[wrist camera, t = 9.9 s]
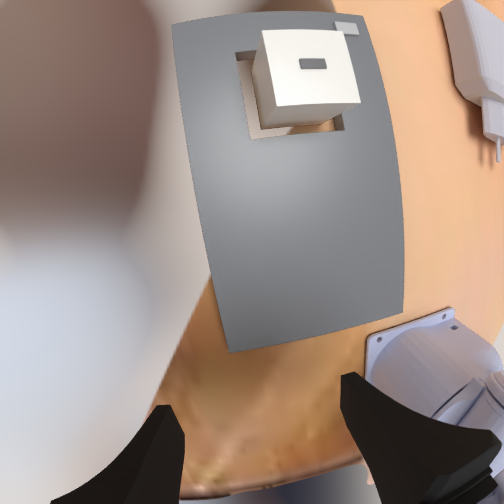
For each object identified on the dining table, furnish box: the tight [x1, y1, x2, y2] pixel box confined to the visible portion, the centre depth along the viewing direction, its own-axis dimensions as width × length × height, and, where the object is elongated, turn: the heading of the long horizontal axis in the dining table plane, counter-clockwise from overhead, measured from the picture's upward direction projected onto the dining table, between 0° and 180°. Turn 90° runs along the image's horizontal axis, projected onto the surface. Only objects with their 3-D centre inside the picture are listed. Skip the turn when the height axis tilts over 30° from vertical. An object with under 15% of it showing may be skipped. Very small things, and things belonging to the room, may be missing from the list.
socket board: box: [171, 11, 404, 353], centre depth 17 cm, size 13×22×2 cm, turn 9°
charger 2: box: [440, 0, 504, 162], centre depth 15 cm, size 5×9×15 cm
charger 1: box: [251, 29, 361, 130], centre depth 14 cm, size 4×4×6 cm
